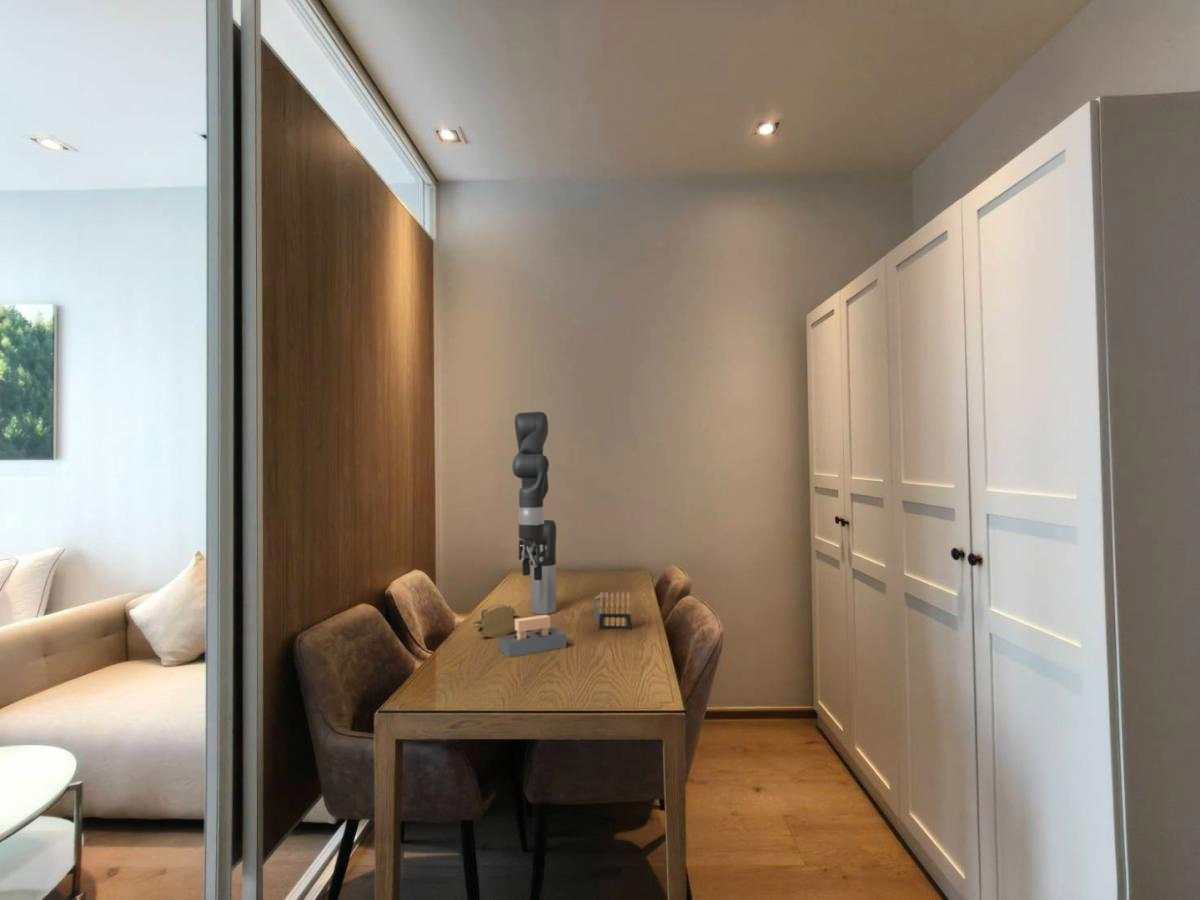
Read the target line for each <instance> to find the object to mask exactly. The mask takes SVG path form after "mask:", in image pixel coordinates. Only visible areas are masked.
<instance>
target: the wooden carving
mask: <svg viewBox="0 0 1200 900" xmlns="http://www.w3.org/2000/svg"><path fill="white" fill-rule="evenodd" d="M515 613H516V610H515V609H514V606H512V605H509V606H507V605H504V604H497V605H492V606H490V607H488V608H486V609H482V611H481V616H480V617H481V619H480V620H478V621H474V622H473V625H474V627H475V628H477V631H478V633H479V634H480V635H482V636H483V637H487V638H491V639H496V638H495V637H499V636H505V635H511V633H514V634H517V631H516V630H515V619H520V618H523V617H522V616H520V615H517V614H515Z"/></svg>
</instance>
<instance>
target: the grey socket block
mask: <svg viewBox="0 0 1200 900" xmlns="http://www.w3.org/2000/svg"><path fill="white" fill-rule="evenodd" d="M548 632H549V635H543V636H539V629H536V630H529V631H527V638H525V639H517V633H512V634H511V633H510V634H508V635H505V636H499V638H498V651H499V650H500V651H499V652H501V653H502V654H503V653H504V654H503V655H504V656H506V655H507V658H515V657H518V656H524V655H525V656H526V655H531V654H536V653H542V652H547V651H548V650H549V651H554V650H559V649H558V648H560V649H564V648H563V647H566V648H567V633H566V632H564V631H561V630H560V629H558V628H556V627H549V628H548ZM553 649H554V650H553ZM514 656H515V657H514Z"/></svg>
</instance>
